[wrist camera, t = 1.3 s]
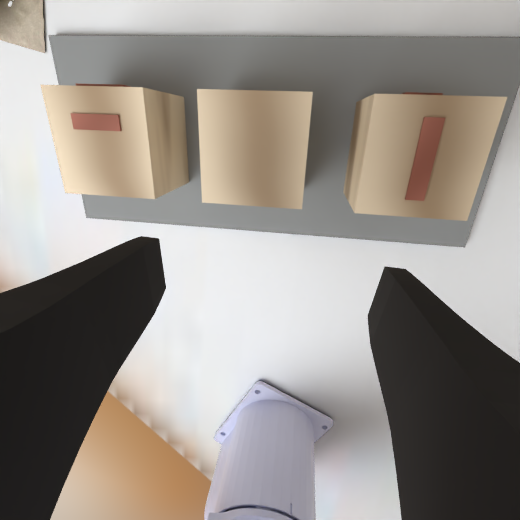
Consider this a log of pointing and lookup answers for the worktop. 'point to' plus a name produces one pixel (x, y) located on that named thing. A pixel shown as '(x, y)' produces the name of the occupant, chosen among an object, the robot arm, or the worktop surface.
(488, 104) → the block one
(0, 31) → the condiment
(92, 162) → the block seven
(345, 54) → the slate mat
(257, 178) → the plain block
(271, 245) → the worktop surface
